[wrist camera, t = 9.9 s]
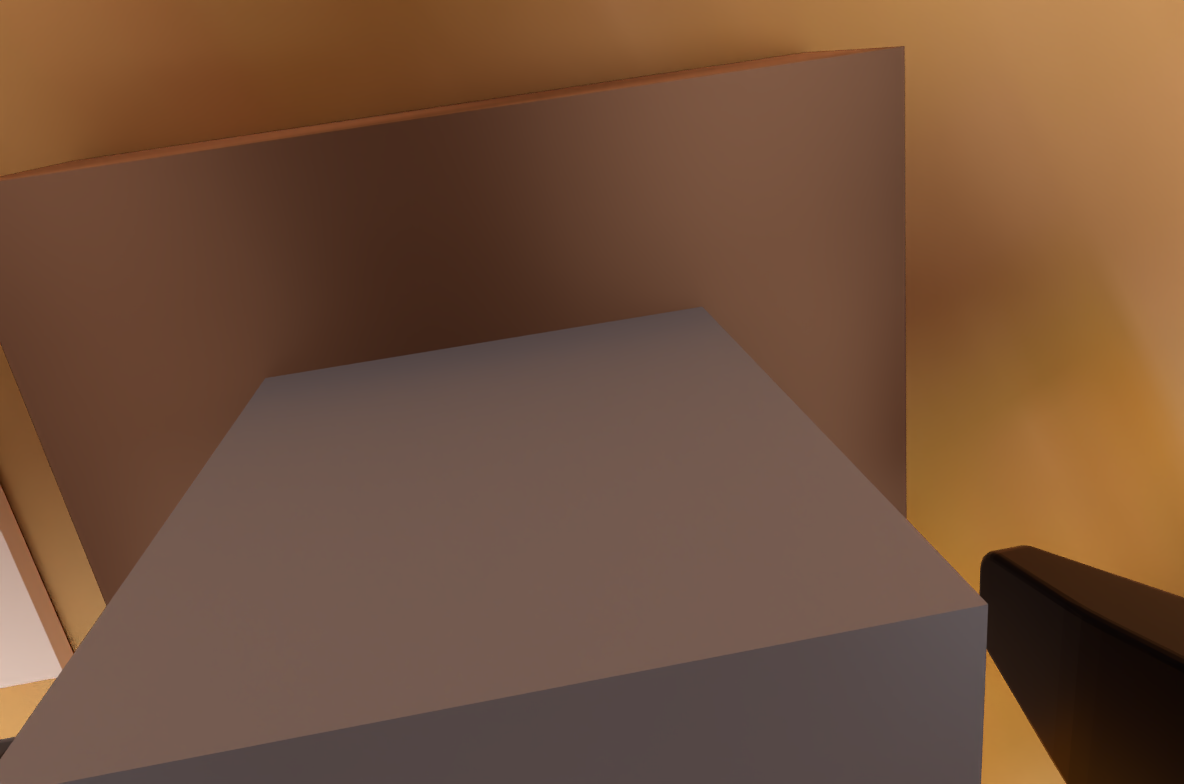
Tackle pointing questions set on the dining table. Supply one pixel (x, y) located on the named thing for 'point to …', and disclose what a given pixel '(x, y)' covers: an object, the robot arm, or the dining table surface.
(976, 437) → the dining table surface
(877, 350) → the walnut base block
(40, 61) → the dining table surface
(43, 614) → the plaque
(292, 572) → the slate block
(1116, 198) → the dining table surface
